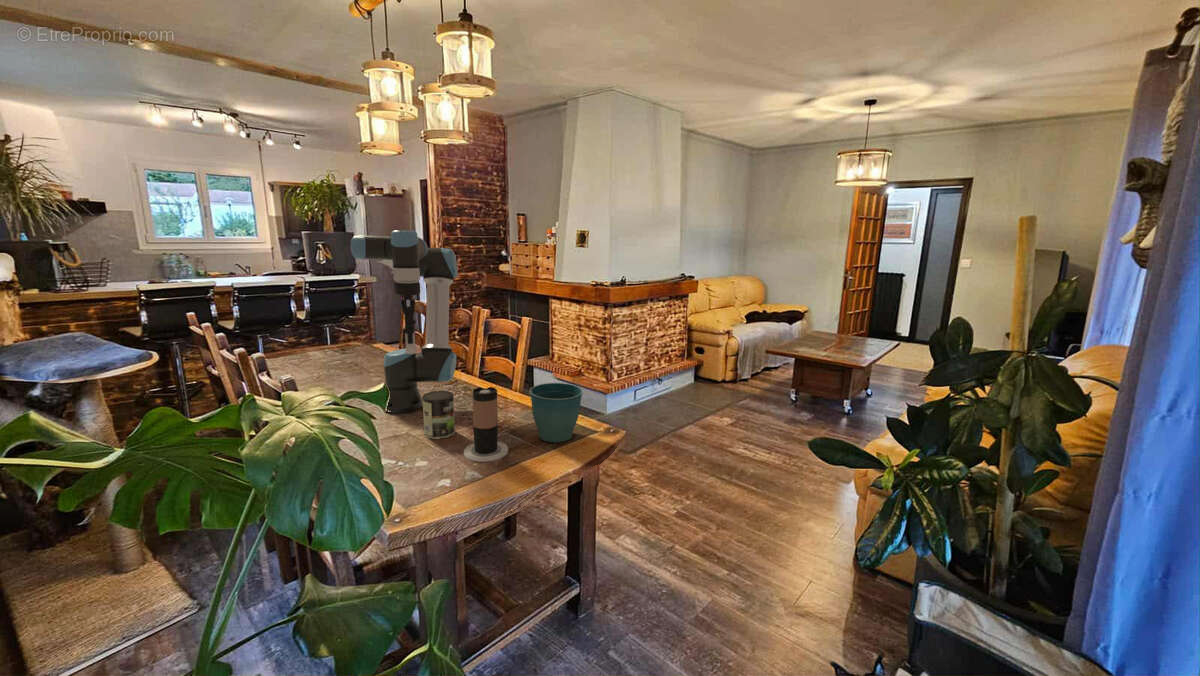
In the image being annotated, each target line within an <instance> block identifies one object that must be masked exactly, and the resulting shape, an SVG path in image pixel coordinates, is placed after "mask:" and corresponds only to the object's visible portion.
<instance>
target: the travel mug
mask: <svg viewBox="0 0 1200 676" xmlns="http://www.w3.org/2000/svg"><path fill="white" fill-rule="evenodd" d="M498 425H499V421H498V389H497V388H496V387H491V386H489V387H487V388H483V387H482V386H481V387H476V388H474V389H473V390H472V426H473V428H472V429H473V443H474V447H475V452H477V453H479V454H489V453H493V452H495V451H496V450H497V441H498V439H499V438H498V434H499V433H498V432H499V429H498V428H499V427H498Z"/></svg>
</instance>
